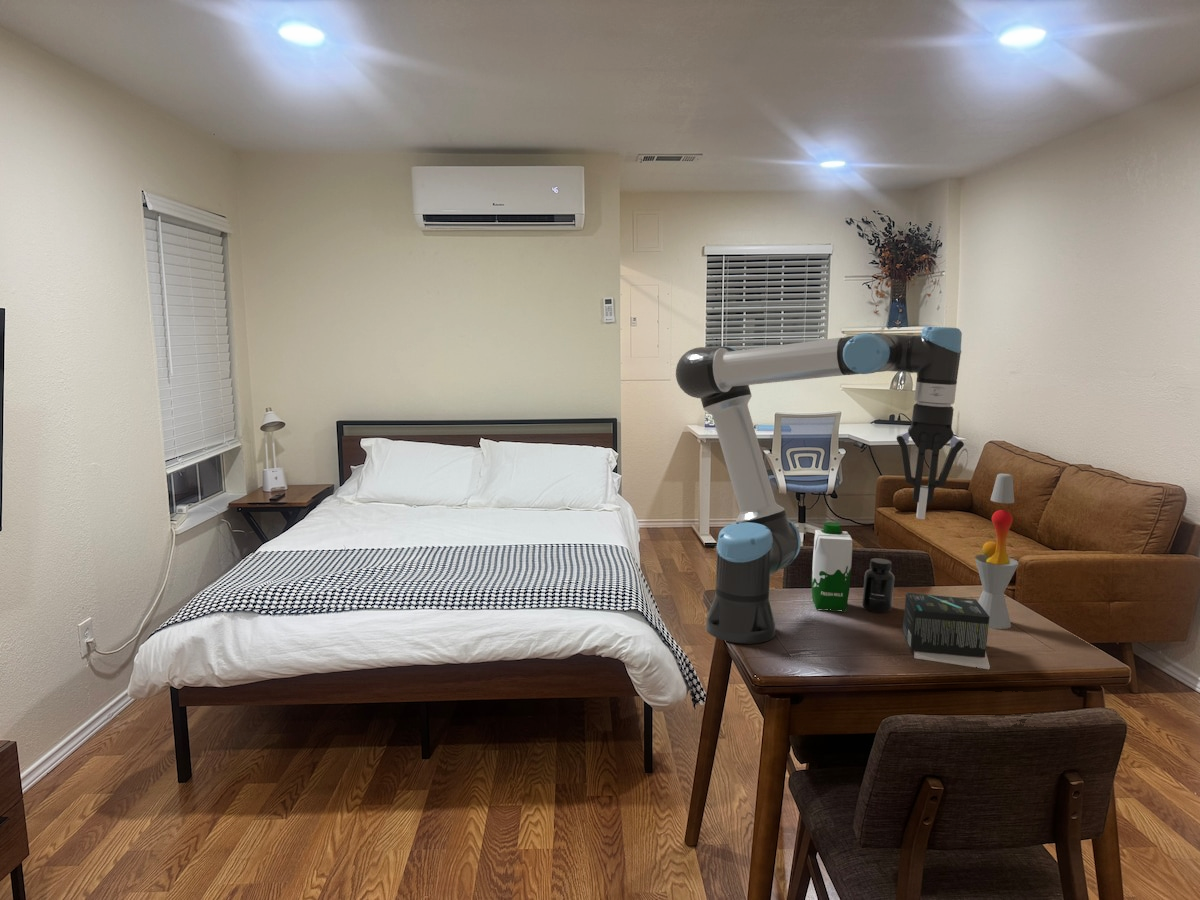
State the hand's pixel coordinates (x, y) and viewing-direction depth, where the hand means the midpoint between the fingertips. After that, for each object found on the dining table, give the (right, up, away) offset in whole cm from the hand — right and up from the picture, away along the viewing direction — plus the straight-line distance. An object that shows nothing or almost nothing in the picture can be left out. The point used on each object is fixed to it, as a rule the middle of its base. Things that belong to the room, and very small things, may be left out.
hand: (920, 517), depth 163 cm
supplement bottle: (+1, -25, +28) cm, 38 cm away
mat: (+7, -28, +3) cm, 30 cm away
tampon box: (-1, -22, +6) cm, 23 cm away
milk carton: (-10, -24, +29) cm, 40 cm away
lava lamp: (+25, -26, +21) cm, 42 cm away
